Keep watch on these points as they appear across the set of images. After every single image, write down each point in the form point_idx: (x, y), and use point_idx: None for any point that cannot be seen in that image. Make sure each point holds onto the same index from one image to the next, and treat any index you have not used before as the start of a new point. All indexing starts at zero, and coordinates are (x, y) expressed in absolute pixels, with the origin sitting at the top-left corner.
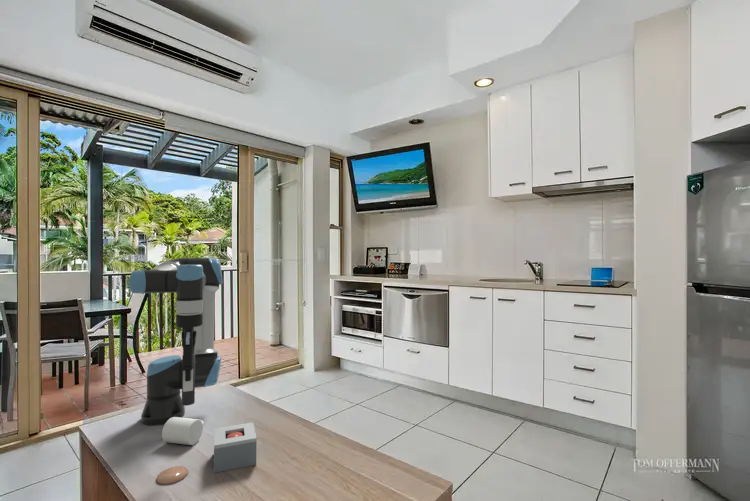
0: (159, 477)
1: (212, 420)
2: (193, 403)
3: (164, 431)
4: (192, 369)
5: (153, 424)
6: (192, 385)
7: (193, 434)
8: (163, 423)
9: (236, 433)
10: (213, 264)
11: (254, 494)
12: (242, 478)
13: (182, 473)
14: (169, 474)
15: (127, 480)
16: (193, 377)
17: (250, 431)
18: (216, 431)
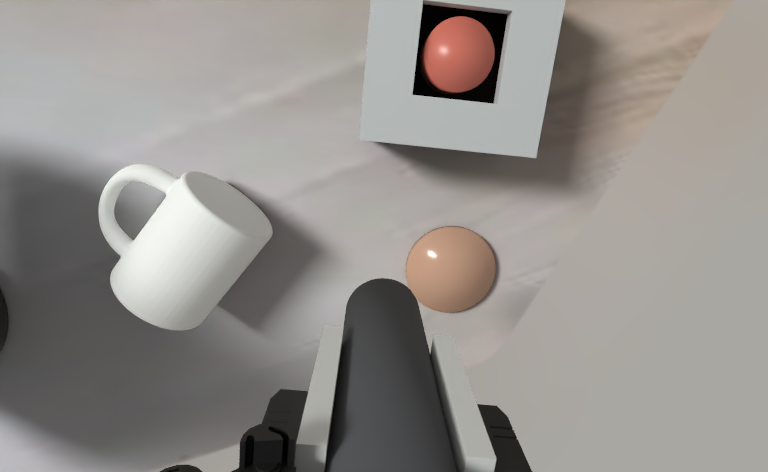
0: (451, 305)
1: (27, 111)
2: (404, 285)
3: (201, 320)
4: (493, 462)
5: (4, 339)
6: (458, 358)
7: (243, 210)
8: (4, 305)
9: (442, 44)
10: None
11: (706, 40)
12: (592, 61)
13: (464, 244)
14: (449, 279)
15: None
16: (426, 384)
17: None
18: (398, 134)
